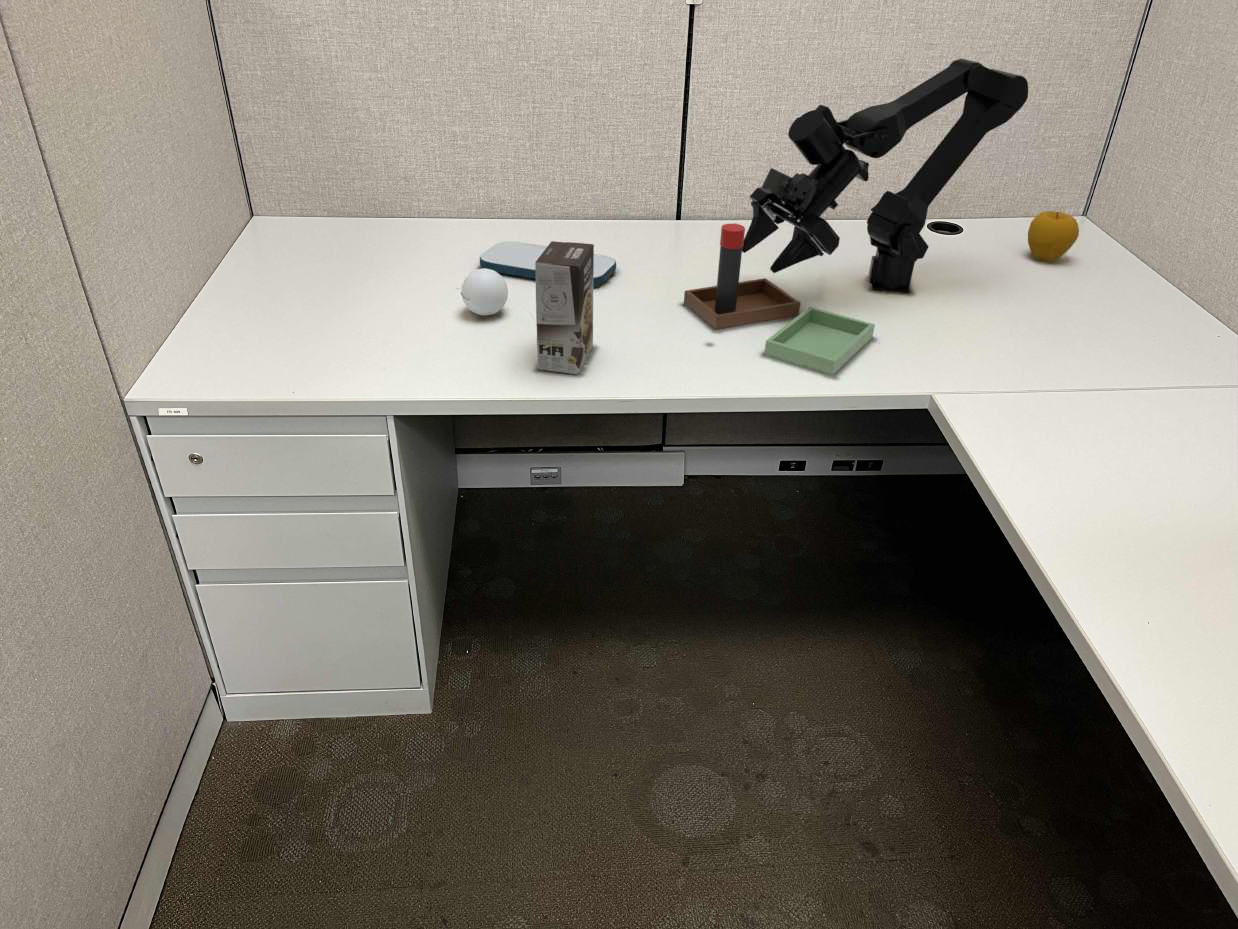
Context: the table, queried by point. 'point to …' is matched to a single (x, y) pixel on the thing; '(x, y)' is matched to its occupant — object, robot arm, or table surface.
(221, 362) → the table surface
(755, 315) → the walnut tray
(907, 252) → the robot arm
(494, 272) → the white rounded piece
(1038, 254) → the apple
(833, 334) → the green tray
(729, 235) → the thermos
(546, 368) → the coffee box
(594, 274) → the blue white rounded slab
